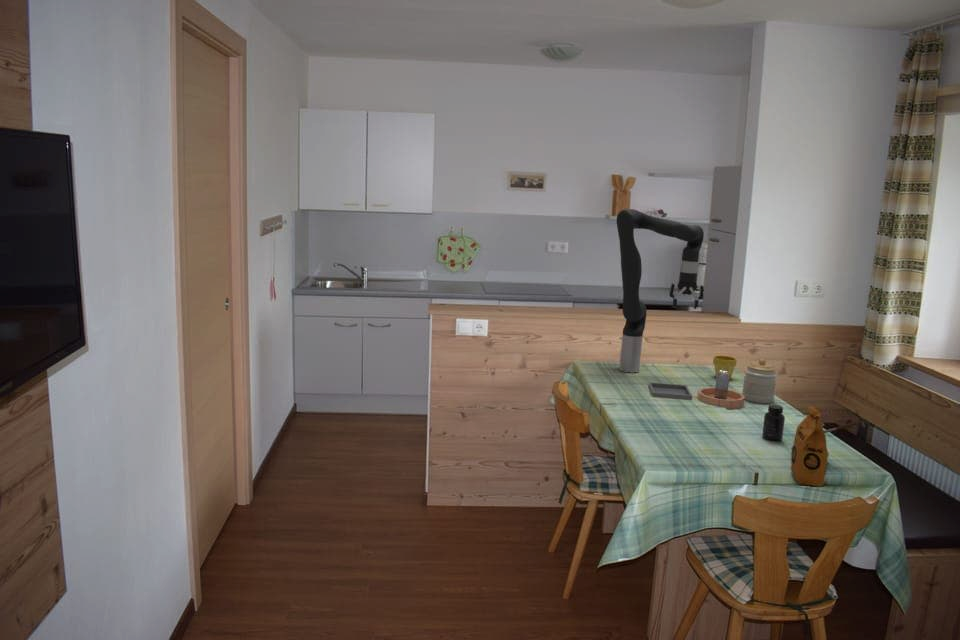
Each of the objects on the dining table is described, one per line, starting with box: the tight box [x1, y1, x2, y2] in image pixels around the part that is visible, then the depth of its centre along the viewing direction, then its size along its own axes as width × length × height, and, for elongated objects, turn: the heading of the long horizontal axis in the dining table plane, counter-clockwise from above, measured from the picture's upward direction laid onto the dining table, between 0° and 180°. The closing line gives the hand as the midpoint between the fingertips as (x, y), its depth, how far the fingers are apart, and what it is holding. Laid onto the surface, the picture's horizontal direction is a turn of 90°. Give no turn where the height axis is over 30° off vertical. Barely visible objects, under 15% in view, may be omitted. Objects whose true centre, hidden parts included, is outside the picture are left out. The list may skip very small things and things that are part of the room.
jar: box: [741, 358, 778, 404], centre depth 319 cm, size 13×13×18 cm
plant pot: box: [712, 354, 738, 381], centre depth 352 cm, size 10×10×10 cm
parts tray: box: [648, 382, 693, 401], centre depth 320 cm, size 16×16×2 cm
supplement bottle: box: [761, 404, 786, 442], centre depth 271 cm, size 7×7×12 cm
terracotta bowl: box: [696, 387, 746, 410], centre depth 313 cm, size 18×18×4 cm
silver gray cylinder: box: [714, 370, 730, 400], centre depth 312 cm, size 5×5×12 cm
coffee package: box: [790, 405, 829, 488], centre depth 233 cm, size 10×12×22 cm
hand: (684, 307), depth 334 cm, fingers open, 8 cm apart
